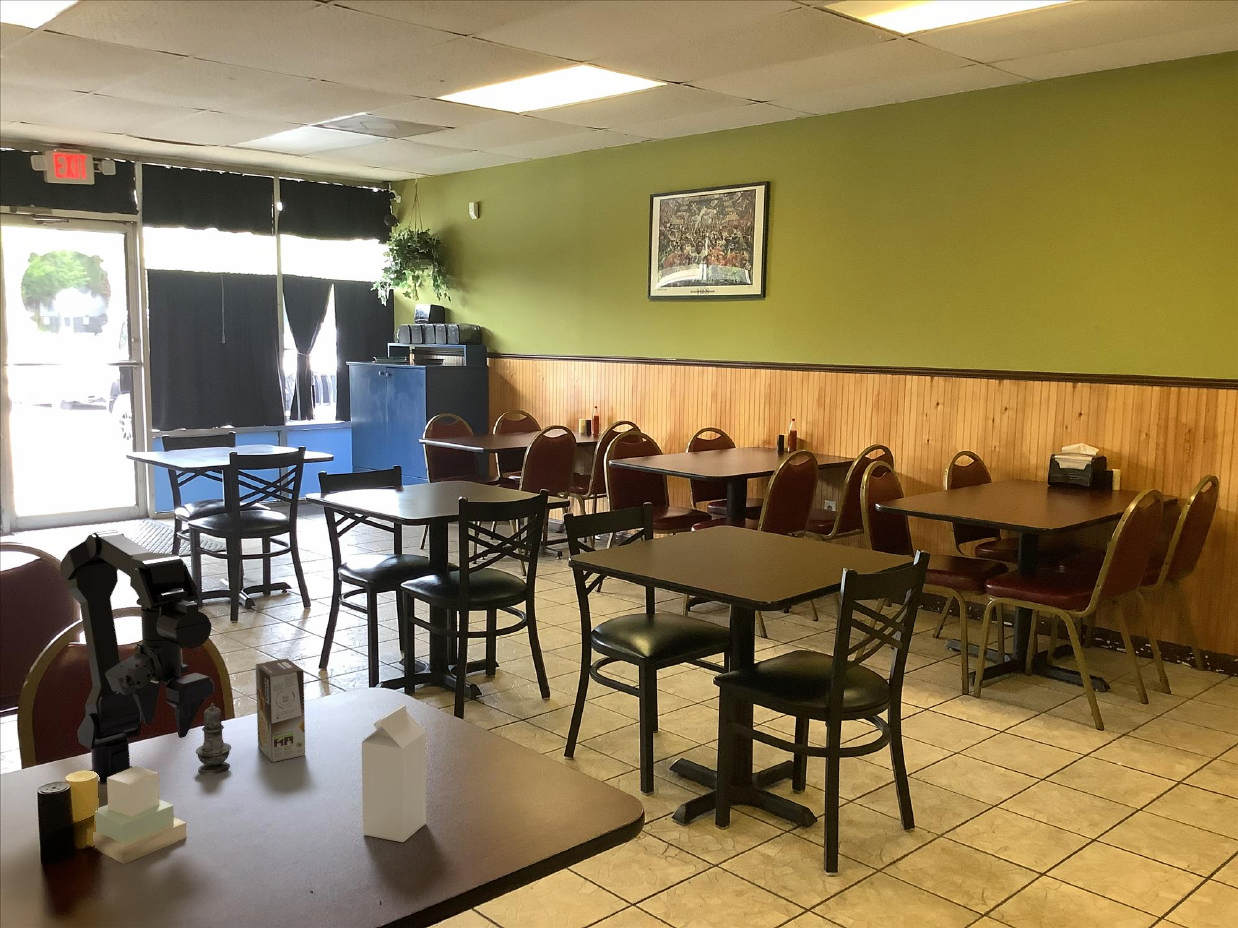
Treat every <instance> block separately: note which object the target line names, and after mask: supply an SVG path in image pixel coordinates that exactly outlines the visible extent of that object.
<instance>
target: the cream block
mask: <svg viewBox="0 0 1238 928" xmlns="http://www.w3.org/2000/svg"><path fill="white" fill-rule="evenodd" d="M106 786H107V788H106V789H107V805H108V810H110V811H113V812H116V813H120V814H123V815H126V816H129V817H133V816H135V815H137V814H139V813H142V812H144V811H146V810H148V809H150V808H153V807H155V806H157V805H159V804H160V800H161V799H160V773H159V772H158V771H155V770H151V769H149V768H144V767H142V766H137V765H134V766H132V768H129V769H127V770H125V771H122V772H120V773H117V774H115V775H112V776H110V777H107V783H106Z"/></svg>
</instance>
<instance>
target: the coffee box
mask: <svg viewBox="0 0 1238 928" xmlns="http://www.w3.org/2000/svg"><path fill="white" fill-rule="evenodd" d="M304 673H305V672H304V669H302V668H301V667H300V666H299V665H297V664H295V663H294V662H293V661H291V659H289V658H283V659H275V660H270V661H266V662H261V663H256V664H255V686H256V687H255V689H256V691H255V692H256V715H257V716H256V717H257V748H258V749H259V750H260V751H261V752H262V753H263V754H264V755H265V756H266V757H267V758H268V759H269V760H270V761H271V762H272V763H275V762H279V761H284V760H290V759H292V758H297V757H301V756H304V755H306V729H305V727H306V725H305V724H306V723H305V722H306V721H305V717H306V716H305V677H304V675H305V674H304Z"/></svg>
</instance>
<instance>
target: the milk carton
mask: <svg viewBox="0 0 1238 928" xmlns="http://www.w3.org/2000/svg"><path fill="white" fill-rule="evenodd" d="M373 726H374V728H375V731H373V732H372V733H371V734H370V735H368V736H367V737H366V738H364V740H362V741H361V774H362V775H361V777H362V779H361V783H362V784H361V787H362V789H361V790H362V792H361V794H362V798H361V799H362V835H364V836H367V837H374V838H379V839H383V840H388V841H394V842H399V843H404V842H406V841H407V840H408V839H409V838H410V837H412V836H413V835H414V834H415V833H416V832H418V831H419V829H421V828H422V827H423V826H424V825H426V824H427V757H426V756H427V754H426V753H427V752H426V751H427V747H426V742H427V740H426V739H427V738H426V737H427V735H426V734H427V732H426V730H424V728H422V727H421V725H420V724H419V723H418V722H417V721H416V720H415V719H414V718H413V717H412V716H411V715H410V713H409V712H408V711H407V704H404V705H401V706H400V707H399V708H397V709H395V710H394V711H392V712H390V713H389V714H386V716H382V717H381V718H379V719H378V720H377V721H376V722H374V723H373Z"/></svg>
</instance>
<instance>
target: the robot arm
mask: <svg viewBox="0 0 1238 928" xmlns="http://www.w3.org/2000/svg"><path fill="white" fill-rule="evenodd" d="M59 571H60V575H61V578H62V579H63V580H64V583H65V587H66V591H67V592H68V593H69V594H70V595H71V596H72V597H73V598H74V599H75V600H76V601H77V602H78V604H79V607H80V613H81V621H82V626H83V632H84V639H85V644H86V645H85V646H86V651H87V657H88V664H89V670H90V676H91V683H92V689H91V690H90V692H89V694H88V698H87V699H86V702H85V703H84V704H85V705H84V707H85V717H84V718H83V720H82V721H81V724H80V725H79V727H78V728H77V731H76V733H77V738H78V739H77V741H78V743H79V744H80V745H81V746H83V747H85V748H87V749H88V750H90V751H91V769H90V770H88V771H94V772H96V773H97V774H98V775H99V777H100V782H99V783H100V784H107V777H110V776H112V775H115V774H117V773H120V772H122V771H125V770H127V769H129V768H132V767H133V766H132V765H131V761H130V758H131V757H130V749H129V748H130V747H129V745H130V743H129V739H132V738H138V737H140V735H141V731H142V724H143V723H144V725H145V726H150V725H152V724H153V722H154V718H155V715H156V710H157V707H158V703H159V702H158V700H159V696H160V691H161V686H165V695H166V697H167V698H168V699H166V700H165V702H166V703H167V704H168V705H169V706H171V707H172V708H173V709H174V711H173V712H174V717H175V718H174V719H175V726H176V732H177V735H178V738H179V739H182V738H185V737H187V735H188V732H190V731H189V730H190V729H191V727H192V724H193V722H194V720H195V718H196V717H197V716H196V715H198V711H199V710H200V708H201V707H202V705H203V703H204V701H205V699H208V698H209V697H210V696H212V695H214V694H215V680H213V678H211V677H210V676H208V675H205V674H201V673H198V672H193V673H190V674H186V675H183V676H181V675H182V674H185V673H188V672H189V665H188V664H185V663H183V649H184V648H185V649H197V648H199V647H201V646H202V645H204V644H205V643H206V642H207V641H208V640H209V638H210V636H211V633H212V622H211V621H210V618H209V617H208V615H207V614H206V613H204V612H202V611H199V604H198V603H197V602H192V601H198V600H199V595H198V592H197V591H198V587H197V584H196V582H195V580H194V579H193V577H192V574H191V573H190V571H189V568H188V567H187V564H186V562H184V560H183V559H182V558H181V556H179V555H177V554H176V555H175V554H172V553H167V552H166V553H165V552H164V553H163V552H152V551H150V550H148V549H147V548H145V547H144V546H142V545H140V544H138V543H137V542H135V541H133V540H131V539H130V538H128V537H126V536H125V535H124V533H123V531H121V530H117V529H112V530H106V531H105V530H104V531H97V532H96V531H95V532H92V533H91V534H89V535H88V536H87V537H86V539H84V541H82V542H80V543H79V544H77V545H75V546H74V547H72V548H71V549H69V550H68V551H67V552H66V554H65V555H64V557H62V560H61V562H60V564H59ZM118 571H121V572H122V573H124V574H125V575H126V576H128V577H129V578H130V579H129V581H130V582H129V584H130V587H131V588H132V589H133V590H134V592H135V593H136V595H137V597H138V598H137V599H136V601H135V602H136V605H138V606H139V607H140V608H141V610H140V611H141V613H140V615H141V619H140V620H141V641H140V642H138V643H136V646H135V647H134V654H133V655H131V656H130V657H127V658H125V659H124V660H121V656H120V649H119V644H118V638H117V631H116V627H115V624H116V623H115V620H114V613H113V607H112V601H111V597H112V595H113V594H114V590H115V588H116V586H117V583H118V582H119V578H118Z"/></svg>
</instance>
